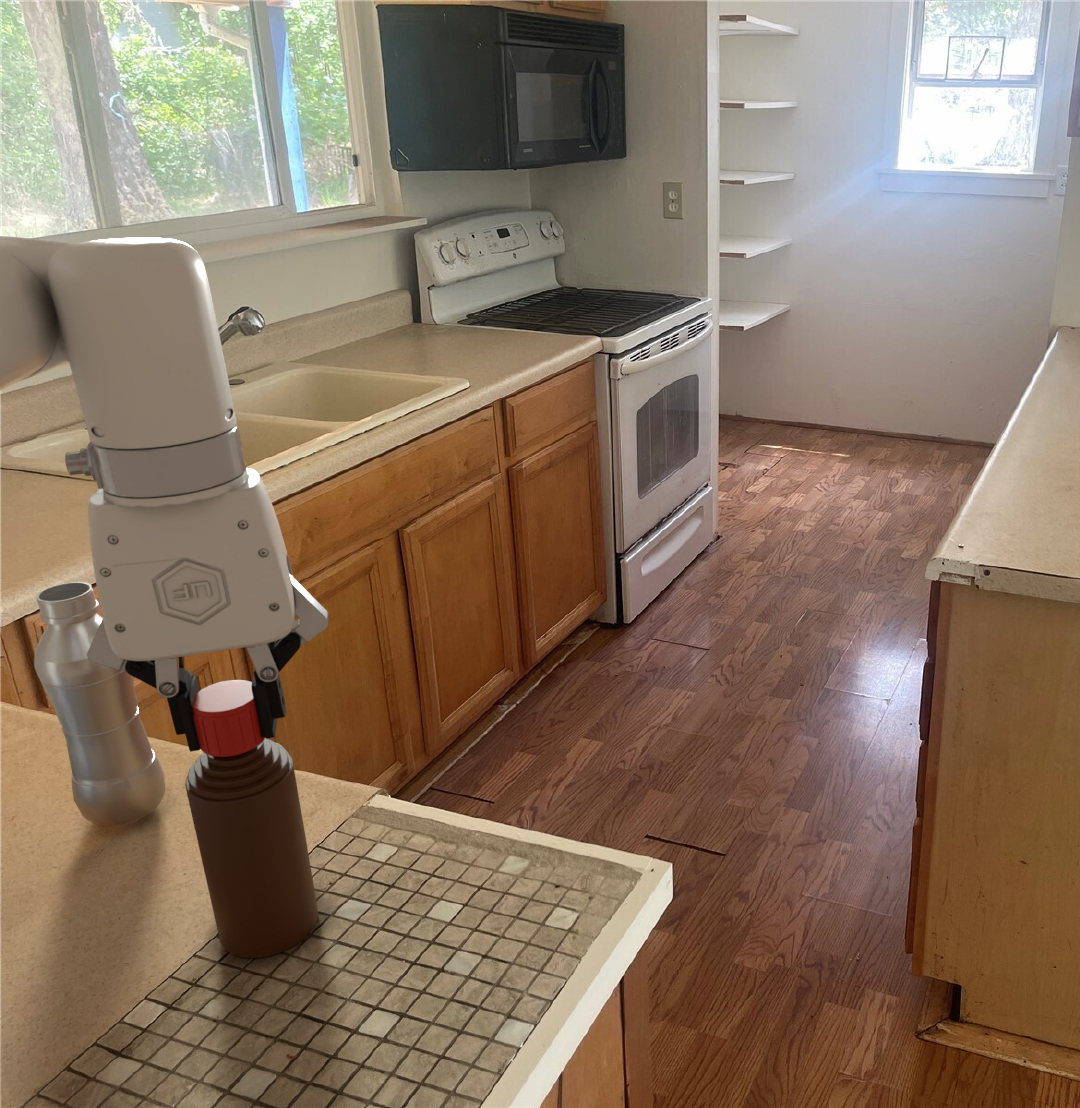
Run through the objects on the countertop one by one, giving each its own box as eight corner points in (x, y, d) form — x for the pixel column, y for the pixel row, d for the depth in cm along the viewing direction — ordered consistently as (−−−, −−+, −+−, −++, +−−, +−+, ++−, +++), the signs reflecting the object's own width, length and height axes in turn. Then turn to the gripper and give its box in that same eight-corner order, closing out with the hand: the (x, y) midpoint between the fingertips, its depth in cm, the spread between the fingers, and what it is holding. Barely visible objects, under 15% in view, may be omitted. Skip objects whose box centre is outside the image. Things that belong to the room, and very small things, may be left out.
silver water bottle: (141, 780, 89) (82, 567, 82) (189, 804, 86) (132, 585, 78) (64, 820, 84) (-6, 598, 77) (112, 847, 81) (43, 618, 73)
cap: (185, 753, 65) (175, 708, 64) (225, 719, 69) (216, 676, 67) (243, 761, 64) (234, 716, 63) (279, 726, 68) (271, 683, 67)
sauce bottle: (267, 971, 69) (221, 746, 62) (198, 939, 71) (146, 718, 64) (337, 909, 74) (304, 695, 67) (271, 881, 77) (231, 671, 69)
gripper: (-14, 499, 54) (76, 792, 61) (323, 465, 59) (370, 740, 66) (26, 459, 61) (103, 727, 68) (327, 431, 66) (370, 684, 73)
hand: (235, 731), depth 67 cm, fingers closed on cap, 3 cm apart
